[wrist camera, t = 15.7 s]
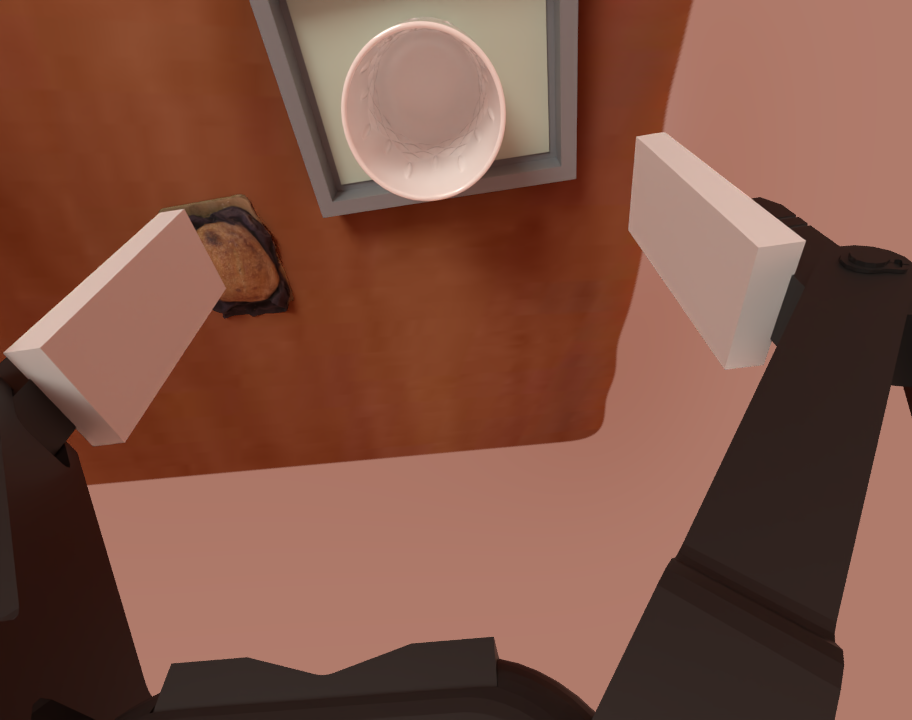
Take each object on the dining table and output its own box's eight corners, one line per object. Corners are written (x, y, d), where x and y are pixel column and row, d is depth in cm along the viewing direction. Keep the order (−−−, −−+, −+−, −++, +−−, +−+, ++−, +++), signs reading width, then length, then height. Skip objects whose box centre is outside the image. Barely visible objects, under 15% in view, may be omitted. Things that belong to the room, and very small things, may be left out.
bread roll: (154, 205, 37) (129, 225, 35) (257, 188, 37) (241, 207, 34) (217, 317, 44) (201, 341, 41) (305, 305, 43) (295, 329, 41)
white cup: (355, 123, 32) (328, 174, 25) (382, -18, 28) (359, -10, 20) (466, 161, 34) (473, 220, 26) (509, 34, 29) (533, 60, 22)
